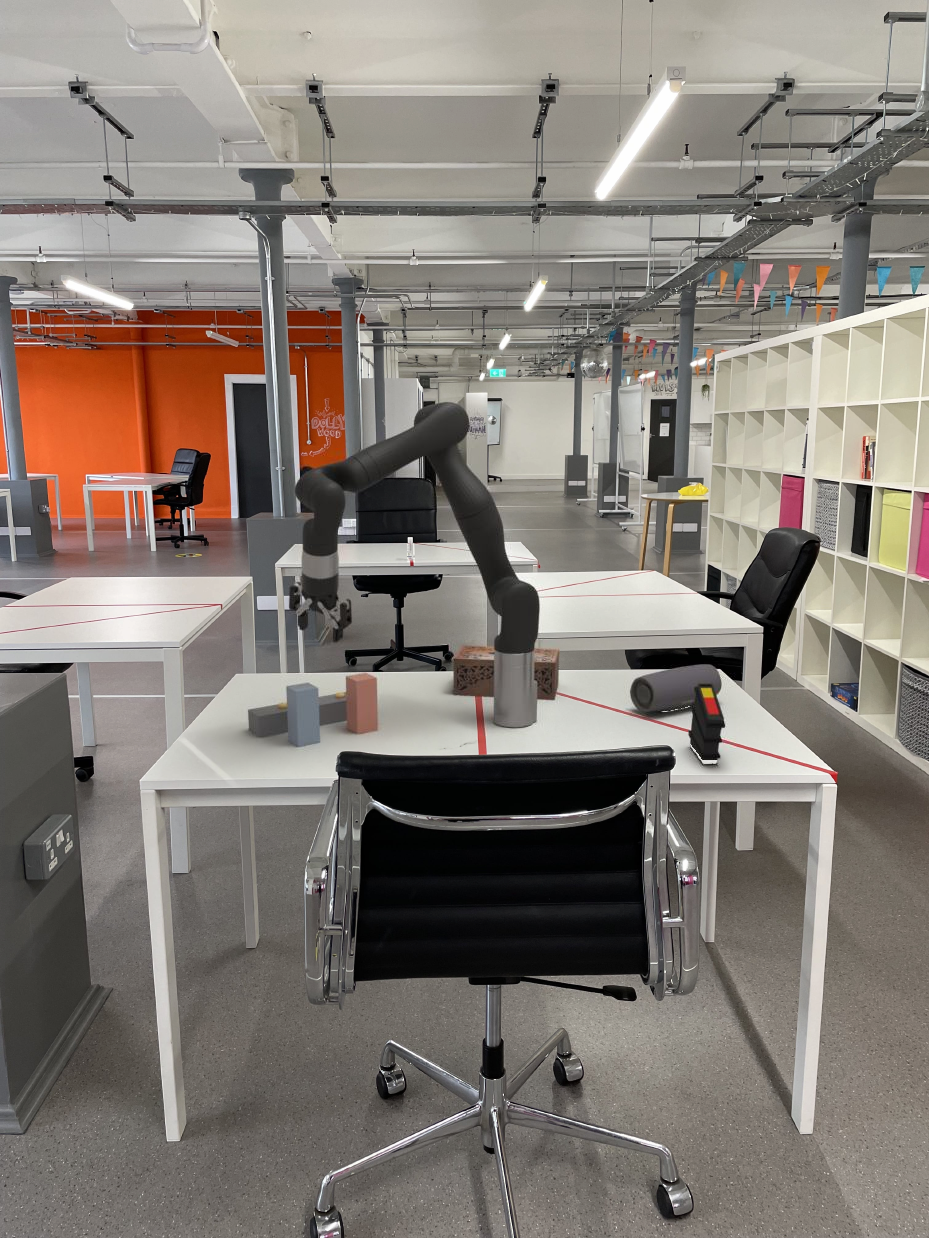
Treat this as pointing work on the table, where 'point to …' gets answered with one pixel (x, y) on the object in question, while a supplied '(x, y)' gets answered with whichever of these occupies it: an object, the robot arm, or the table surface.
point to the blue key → (303, 714)
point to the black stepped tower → (706, 722)
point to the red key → (361, 703)
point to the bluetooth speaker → (672, 687)
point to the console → (276, 719)
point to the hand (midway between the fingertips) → (320, 634)
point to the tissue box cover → (478, 672)
